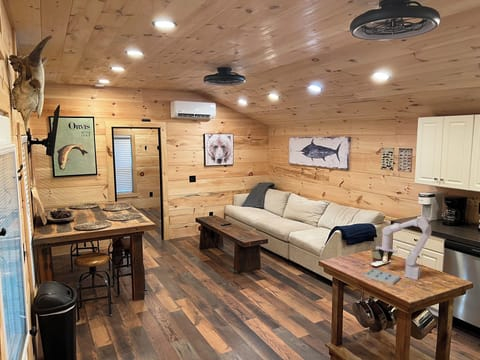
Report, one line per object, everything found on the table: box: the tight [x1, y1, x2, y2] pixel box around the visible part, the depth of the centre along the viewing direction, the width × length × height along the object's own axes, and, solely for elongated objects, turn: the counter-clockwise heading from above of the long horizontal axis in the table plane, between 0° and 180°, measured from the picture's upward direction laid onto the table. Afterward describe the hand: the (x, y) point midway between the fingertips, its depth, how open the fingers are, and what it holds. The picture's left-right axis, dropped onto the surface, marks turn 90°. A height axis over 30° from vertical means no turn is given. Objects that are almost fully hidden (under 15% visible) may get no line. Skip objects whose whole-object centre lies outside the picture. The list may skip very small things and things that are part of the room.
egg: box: [381, 255, 389, 264], centre depth 261 cm, size 4×4×5 cm
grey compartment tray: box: [363, 268, 401, 286], centre depth 251 cm, size 20×14×2 cm
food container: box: [370, 246, 388, 263], centre depth 284 cm, size 12×6×10 cm, turn 84°
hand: (385, 260), depth 261 cm, fingers closed on egg, 4 cm apart
